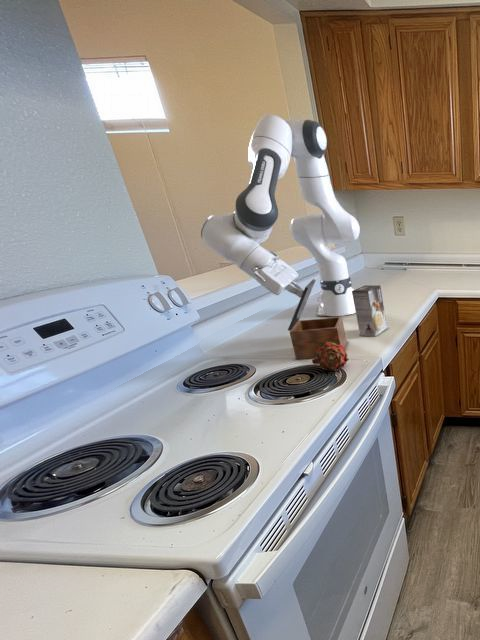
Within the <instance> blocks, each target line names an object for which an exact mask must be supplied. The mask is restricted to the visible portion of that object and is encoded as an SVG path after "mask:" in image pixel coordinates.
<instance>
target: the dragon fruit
mask: <svg viewBox="0 0 480 640" xmlns="http://www.w3.org/2000/svg"><path fill="white" fill-rule="evenodd" d="M345 348H346V347H345ZM345 348H344V347H343V346H341V345H340V344H338V345H337V344H335V343H333V342H327V343H326V344H325V345H324V346H323V347H319V348H318V350H317V351H316V354H315V355H314V358H311V363H312V364H313V365H319V367H320V369H321V368H324V369H322V370H324V371H326V372H327V371H331V372H339V371H340V370H341V369H343V368H344V367H345V365H347V362H348V361H349V360H350V359H349V357H348V354H347V352H346V349H345ZM316 355H317V356H316ZM315 356H316V357H315ZM326 368H327V369H326Z"/></svg>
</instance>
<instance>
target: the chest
mask: <svg viewBox="0 0 480 640" xmlns="http://www.w3.org/2000/svg"><path fill="white" fill-rule="evenodd" d="M289 336H290V340H291V345H292V348H293V352H294V356H295V359H296V360H304V359H315V358H316V356H317V355H316V356H315V357H314V355H315V354H316V351H317V350H318V348H319V347H323V346H324V345H325V344H326V343H327V342H333V343H335V344H337V345H338V344H340V345H341V346H343V347H344V348H346V346H347V342H348V340H347V336H346V331H345V325H344V319H343V316H332V317H325V318H324V317H322V318H312V319H301V320H300V319H299V321H298V322H297V323H296V325H295V326H294V327H293V328H292V330H291V331H289Z"/></svg>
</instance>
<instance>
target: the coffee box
mask: <svg viewBox="0 0 480 640" xmlns="http://www.w3.org/2000/svg"><path fill="white" fill-rule="evenodd" d="M352 295H353V300H354V305H355V311H356V313H355V315H356V321H357V326H358V327H357V328H358V331H359V336H362V337H364V336H365V337H377V336H378V335H380V334H381V333H382V332H384V331H385V330H387V329H388V326H387V319H386V313H385V306H384V300H383V294H382V288H381V285H379V284H377V285H362V286H361V287H358V288H356V289H355V290H353V291H352Z"/></svg>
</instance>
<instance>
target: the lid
mask: <svg viewBox="0 0 480 640" xmlns="http://www.w3.org/2000/svg"><path fill="white" fill-rule="evenodd" d="M316 282H317V281H316V279H314V278H313V279H311V281H309V283H308V284H307V285H306V286H305V287H304V289H303V290H304V292H303V294H302V296H301V298H299V301H298V304H297V306H296V309H295V312H294V313H293V316H292V319H291V320H290V324H289V326H288V328H287V331H289V332H290V331H291V330H292V328H293V327H294V326H295V325H296V323H297V322H298V321H299V320H300V319H301V317H302V315H303V312H304V310H305V307H306V305H307V303H308V300H309V297H310V295H311V293H312V291H313V288H314V286H315V283H316Z"/></svg>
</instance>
